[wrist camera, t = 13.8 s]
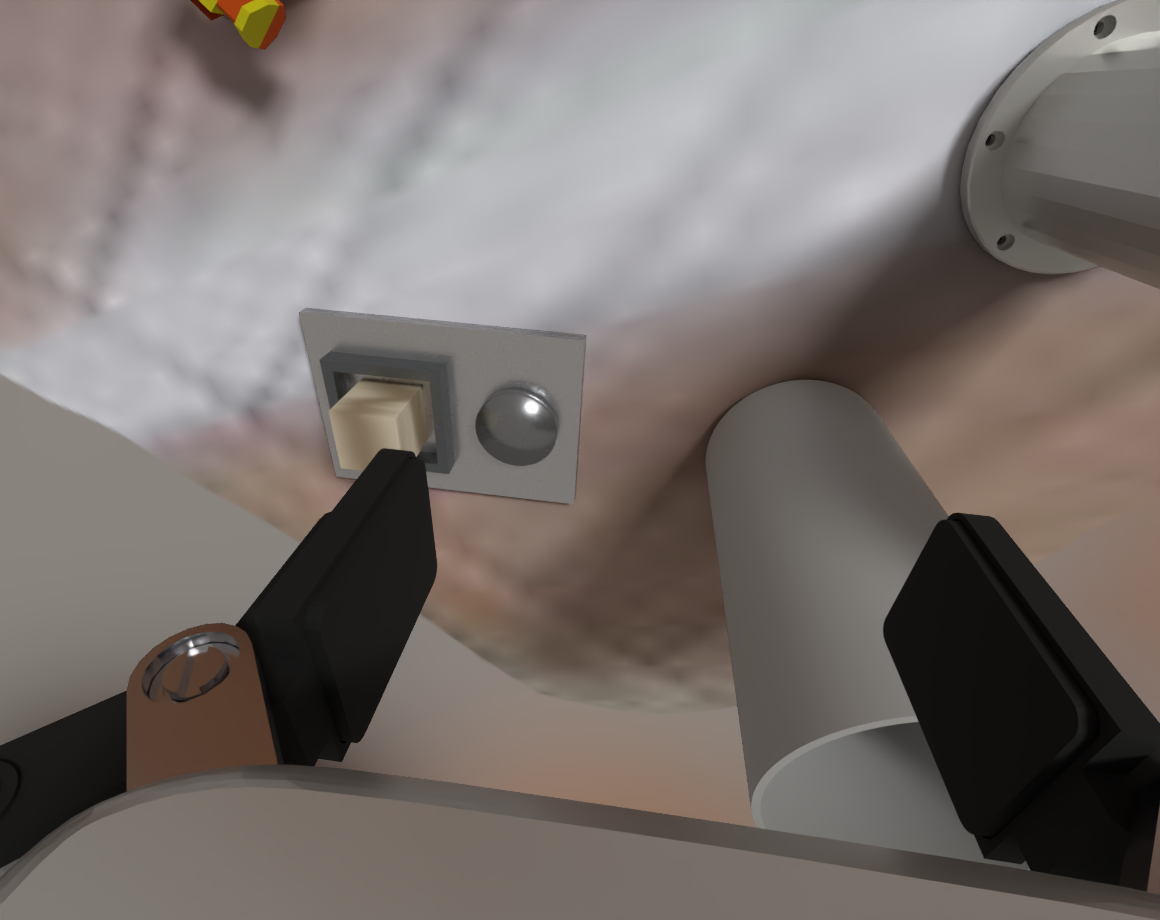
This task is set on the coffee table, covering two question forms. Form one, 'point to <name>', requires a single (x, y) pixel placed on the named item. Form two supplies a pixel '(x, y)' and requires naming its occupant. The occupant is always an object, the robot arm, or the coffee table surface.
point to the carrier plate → (465, 396)
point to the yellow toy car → (248, 18)
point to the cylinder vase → (825, 618)
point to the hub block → (378, 421)
